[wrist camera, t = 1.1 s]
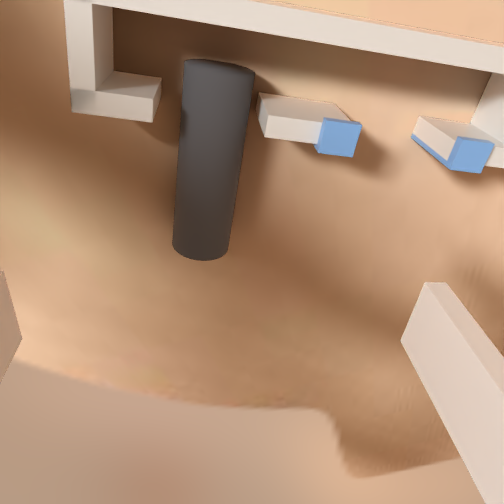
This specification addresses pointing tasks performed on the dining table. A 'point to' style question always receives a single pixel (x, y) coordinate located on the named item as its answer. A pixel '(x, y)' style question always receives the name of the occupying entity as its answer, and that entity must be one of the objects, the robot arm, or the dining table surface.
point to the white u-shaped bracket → (283, 107)
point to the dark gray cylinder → (209, 155)
